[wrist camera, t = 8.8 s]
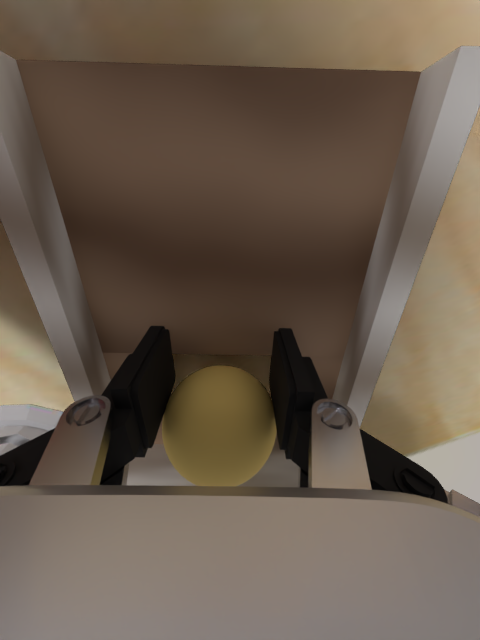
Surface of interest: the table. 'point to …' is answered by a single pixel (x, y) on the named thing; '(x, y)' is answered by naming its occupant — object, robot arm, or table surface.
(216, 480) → the ball
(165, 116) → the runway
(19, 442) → the french press
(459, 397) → the table surface
